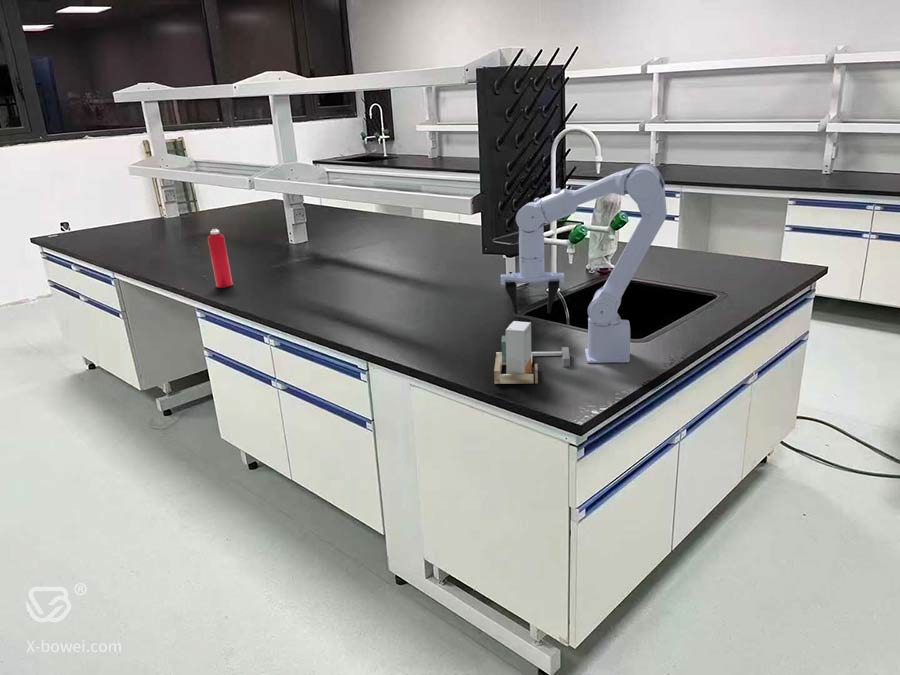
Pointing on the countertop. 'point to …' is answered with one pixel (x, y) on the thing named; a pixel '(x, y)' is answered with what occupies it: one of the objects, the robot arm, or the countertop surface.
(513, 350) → the skincare box
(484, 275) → the countertop surface
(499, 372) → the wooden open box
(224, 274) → the bottle
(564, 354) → the rail
